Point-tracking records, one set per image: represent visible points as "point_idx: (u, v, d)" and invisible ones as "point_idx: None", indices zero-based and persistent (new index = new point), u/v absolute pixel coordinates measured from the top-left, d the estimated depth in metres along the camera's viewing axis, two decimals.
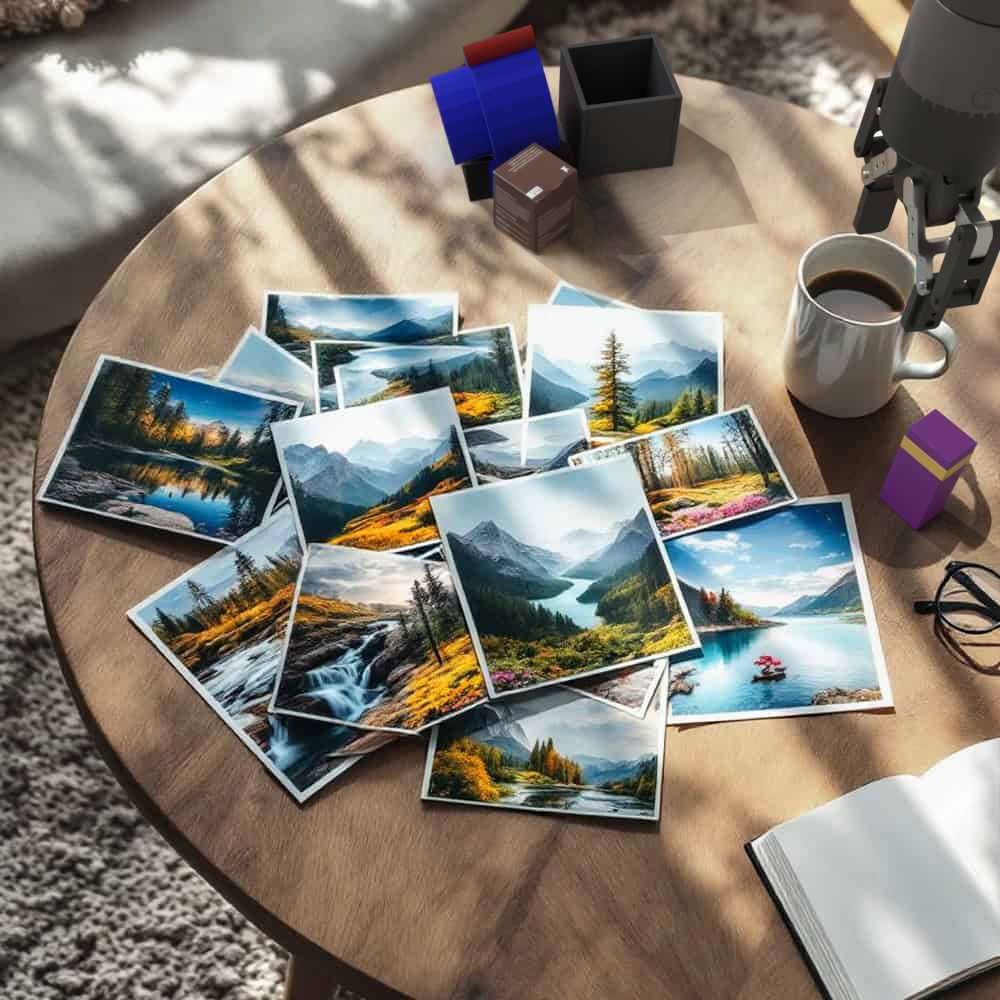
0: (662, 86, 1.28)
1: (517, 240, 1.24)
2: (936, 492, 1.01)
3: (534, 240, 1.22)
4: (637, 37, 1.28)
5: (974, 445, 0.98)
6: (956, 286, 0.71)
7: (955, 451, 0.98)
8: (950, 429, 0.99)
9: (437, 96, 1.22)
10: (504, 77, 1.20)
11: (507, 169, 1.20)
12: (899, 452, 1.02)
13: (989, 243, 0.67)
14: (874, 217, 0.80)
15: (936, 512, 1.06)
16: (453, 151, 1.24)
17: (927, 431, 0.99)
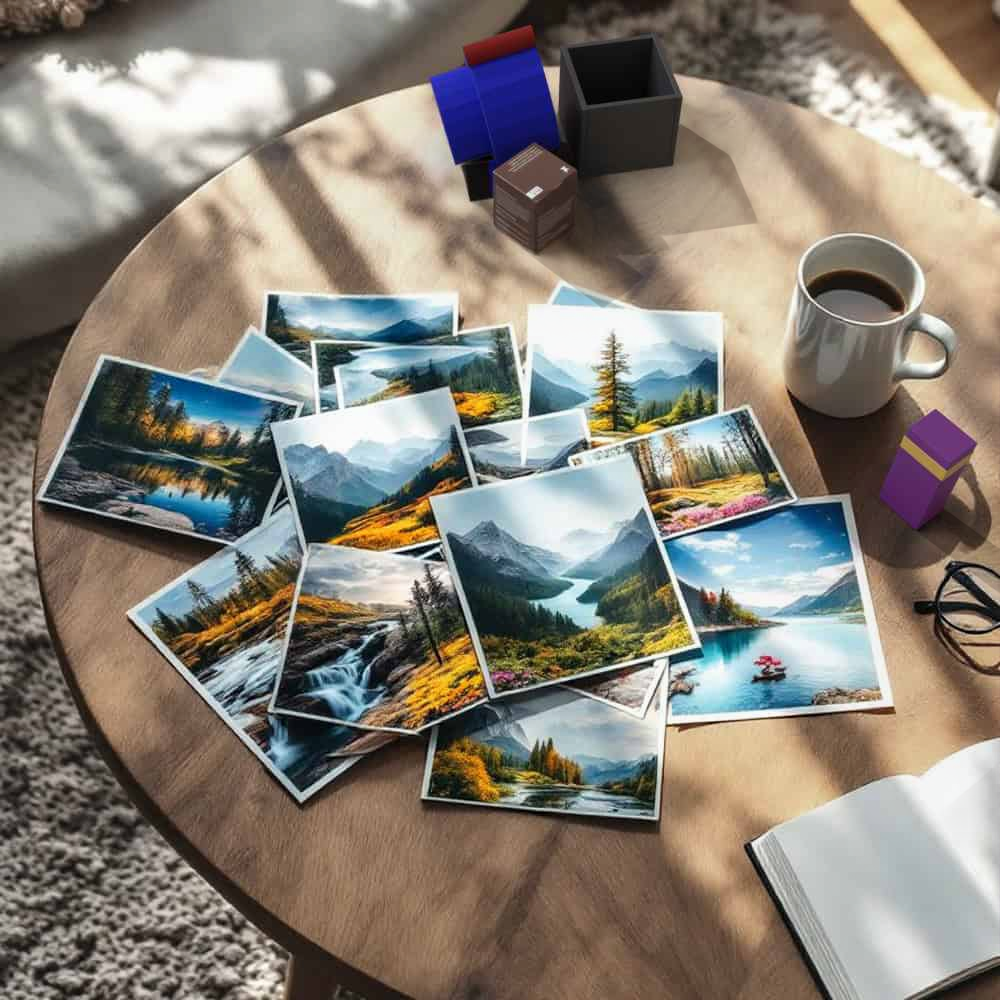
0: (662, 86, 1.28)
1: (517, 240, 1.24)
2: (936, 492, 1.01)
3: (534, 240, 1.22)
4: (637, 37, 1.28)
5: (974, 445, 0.98)
6: None
7: (955, 451, 0.98)
8: (950, 429, 0.99)
9: (437, 96, 1.22)
10: (504, 77, 1.20)
11: (507, 169, 1.20)
12: (899, 452, 1.02)
13: None
14: None
15: (936, 512, 1.06)
16: (453, 151, 1.24)
17: (927, 431, 0.99)
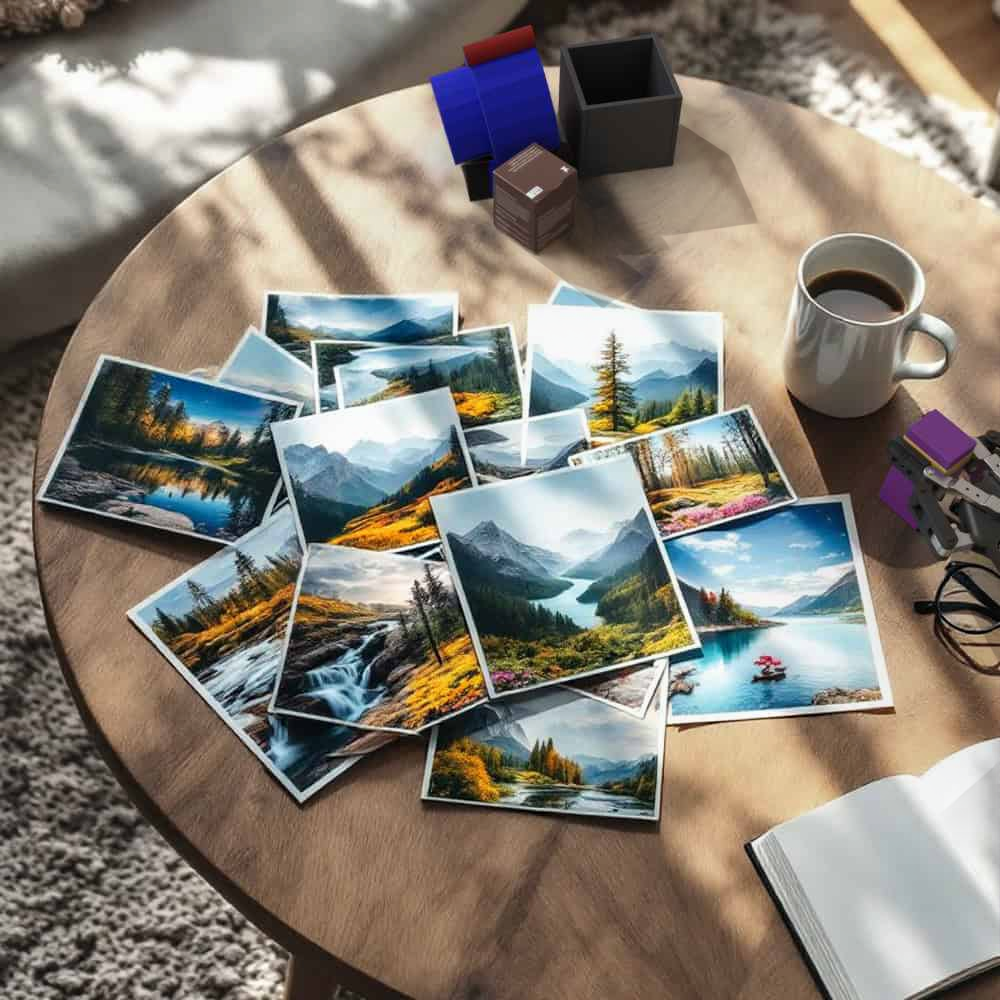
0: (662, 86, 1.28)
1: (517, 240, 1.24)
2: None
3: (534, 240, 1.22)
4: (637, 37, 1.28)
5: (974, 445, 0.98)
6: (991, 450, 1.01)
7: (955, 451, 0.98)
8: (950, 429, 0.99)
9: (437, 96, 1.22)
10: (504, 77, 1.20)
11: (507, 169, 1.20)
12: None
13: None
14: None
15: None
16: (453, 151, 1.24)
17: (927, 431, 0.99)
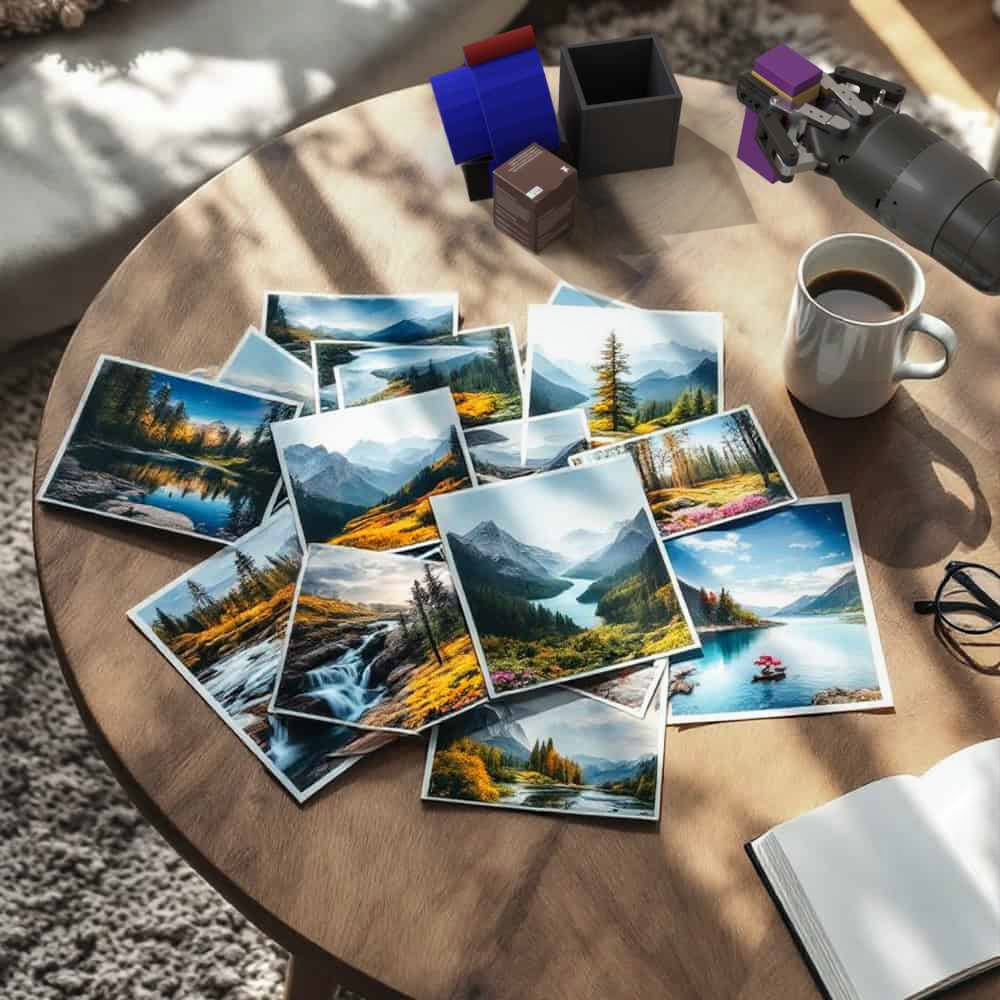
0: (662, 86, 1.28)
1: (517, 240, 1.24)
2: None
3: (534, 240, 1.22)
4: (637, 37, 1.28)
5: (820, 73, 0.98)
6: None
7: (800, 77, 0.97)
8: (797, 60, 0.99)
9: (437, 96, 1.22)
10: (504, 77, 1.20)
11: (507, 169, 1.20)
12: None
13: None
14: None
15: None
16: (453, 151, 1.24)
17: (773, 61, 0.99)
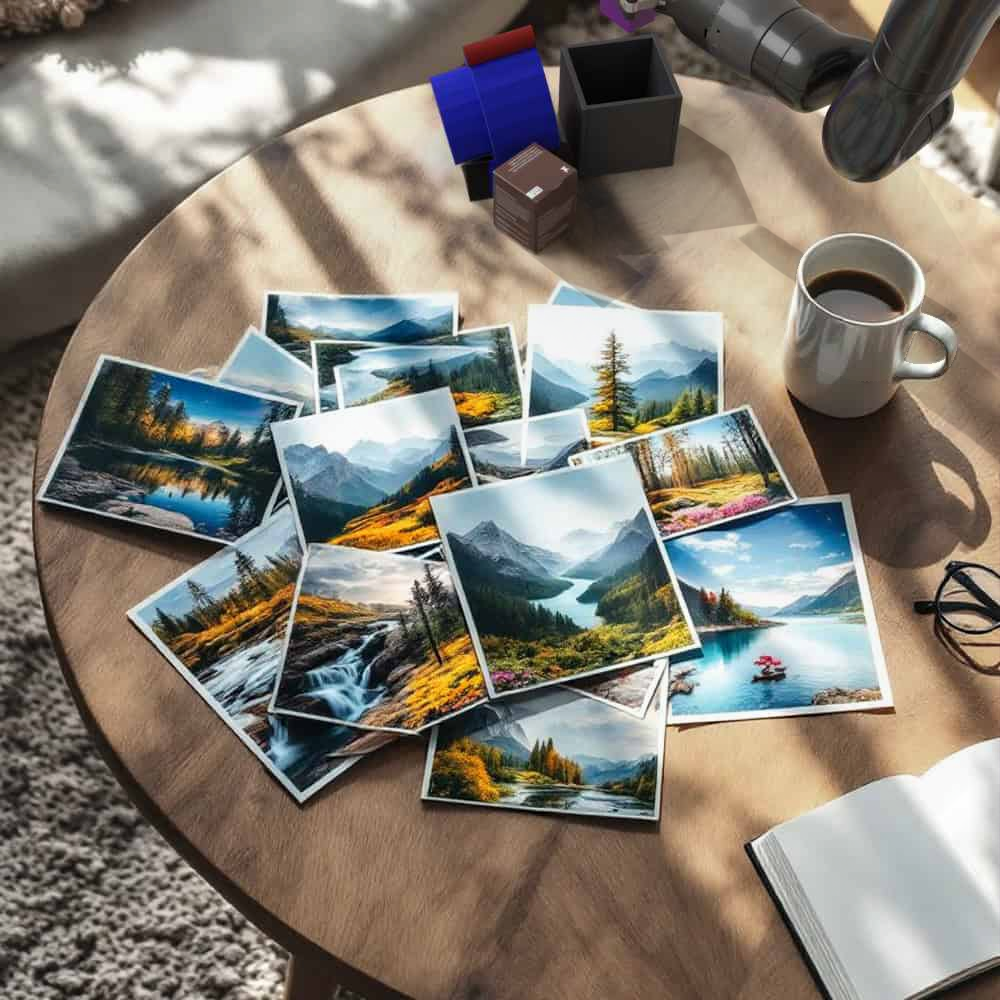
0: (662, 86, 1.28)
1: (517, 240, 1.24)
2: None
3: (534, 240, 1.22)
4: (637, 37, 1.28)
5: None
6: None
7: None
8: None
9: (437, 96, 1.22)
10: (504, 77, 1.20)
11: (507, 169, 1.20)
12: None
13: None
14: None
15: (647, 18, 1.18)
16: (453, 151, 1.24)
17: None
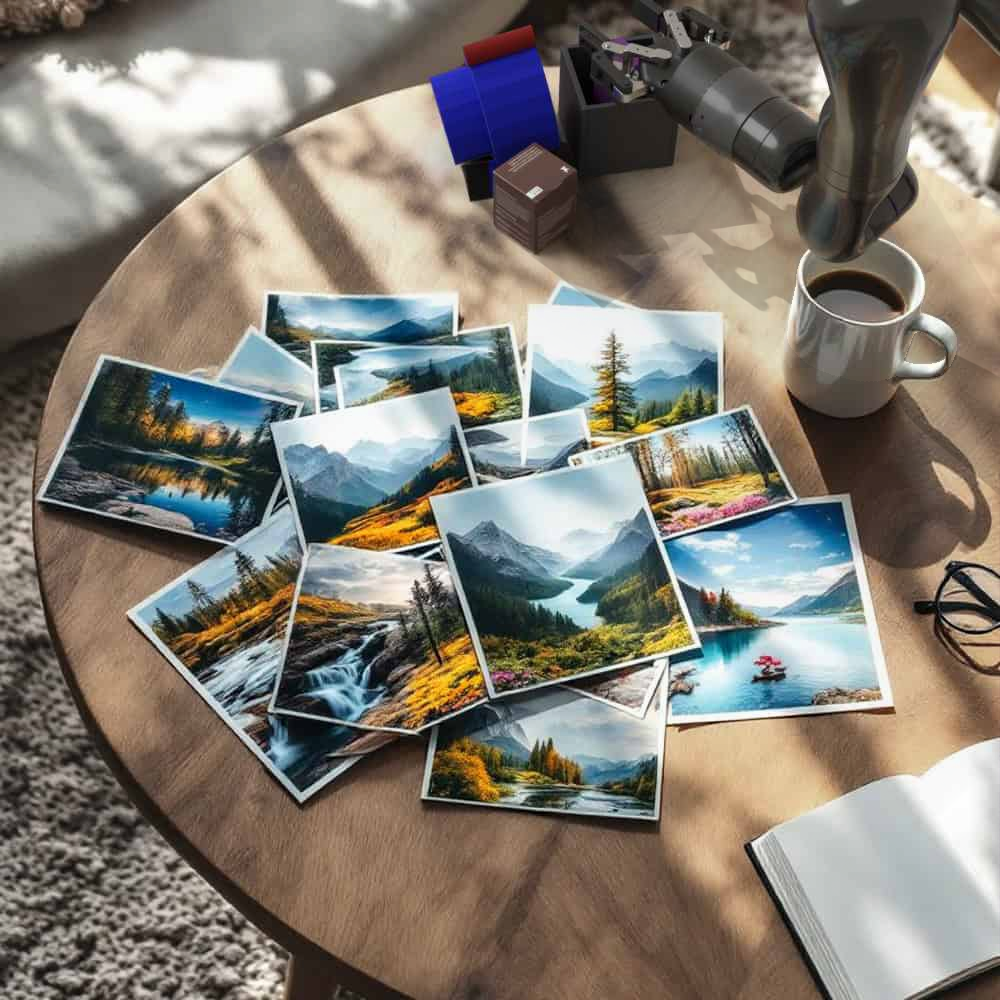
0: None
1: (517, 240, 1.24)
2: None
3: (534, 240, 1.22)
4: (637, 37, 1.28)
5: None
6: (687, 24, 1.22)
7: None
8: None
9: (437, 96, 1.22)
10: (504, 77, 1.20)
11: (507, 169, 1.20)
12: None
13: None
14: None
15: None
16: (453, 151, 1.24)
17: None
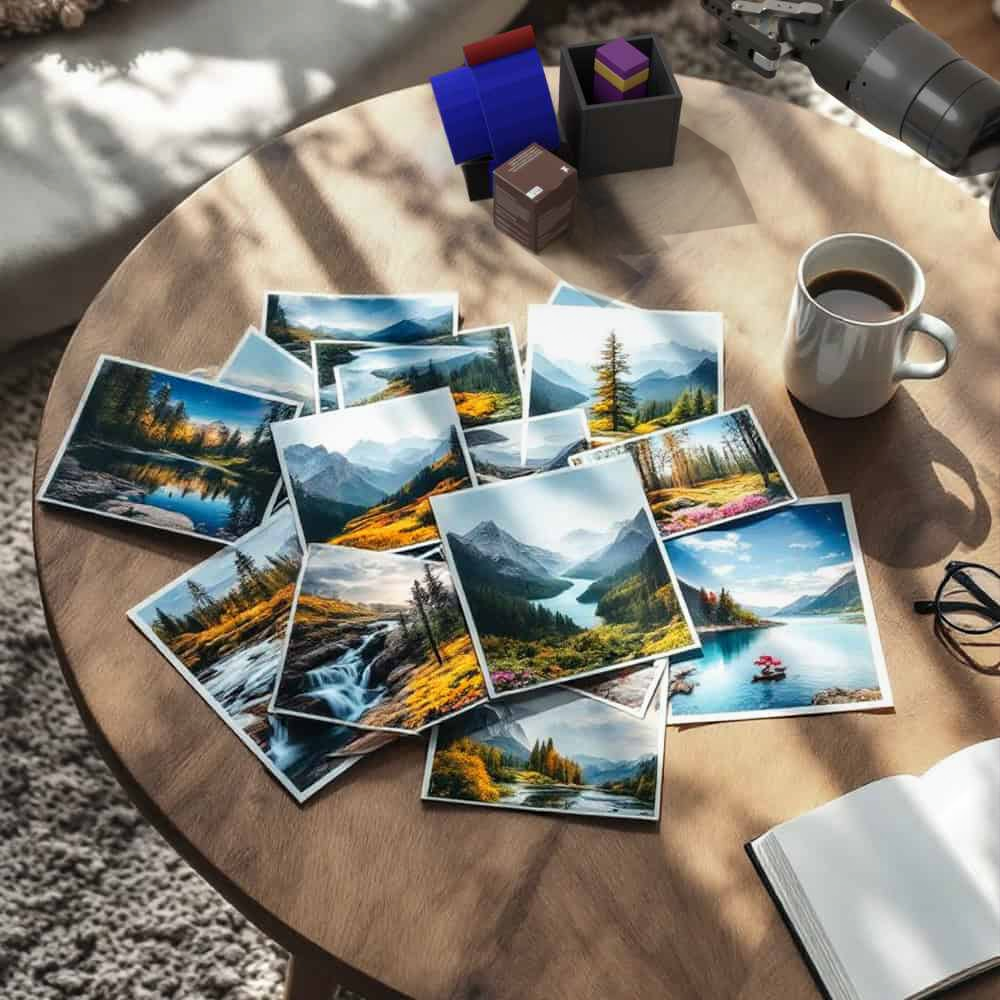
0: (662, 86, 1.28)
1: (517, 240, 1.24)
2: None
3: (534, 240, 1.22)
4: (637, 37, 1.28)
5: (646, 60, 1.23)
6: None
7: (630, 64, 1.23)
8: (629, 50, 1.24)
9: (437, 96, 1.22)
10: (504, 77, 1.20)
11: (507, 169, 1.20)
12: (595, 76, 1.27)
13: None
14: None
15: None
16: (453, 151, 1.24)
17: (610, 51, 1.24)
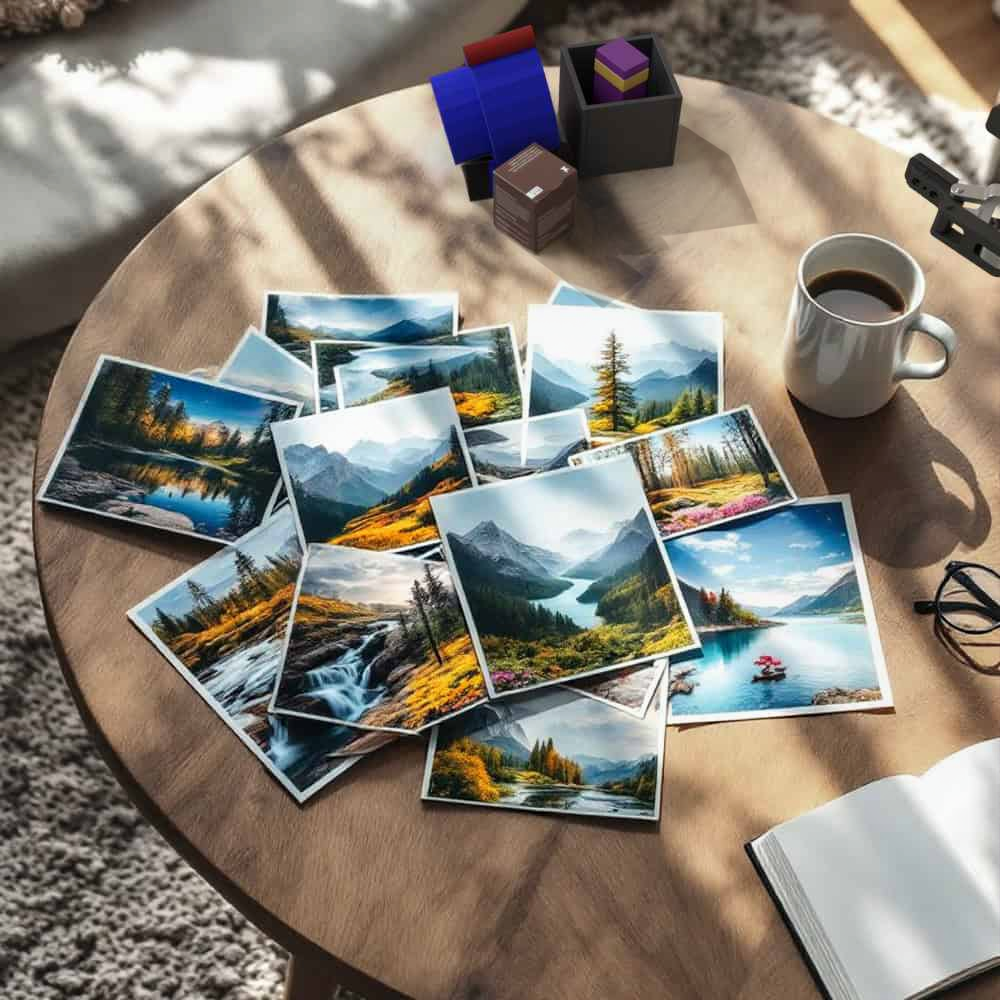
0: (662, 86, 1.28)
1: (517, 240, 1.24)
2: None
3: (534, 240, 1.22)
4: (637, 37, 1.28)
5: (646, 60, 1.23)
6: None
7: (630, 64, 1.23)
8: (629, 50, 1.24)
9: (437, 96, 1.22)
10: (504, 77, 1.20)
11: (507, 169, 1.20)
12: (595, 76, 1.27)
13: None
14: None
15: None
16: (453, 151, 1.24)
17: (610, 51, 1.24)
